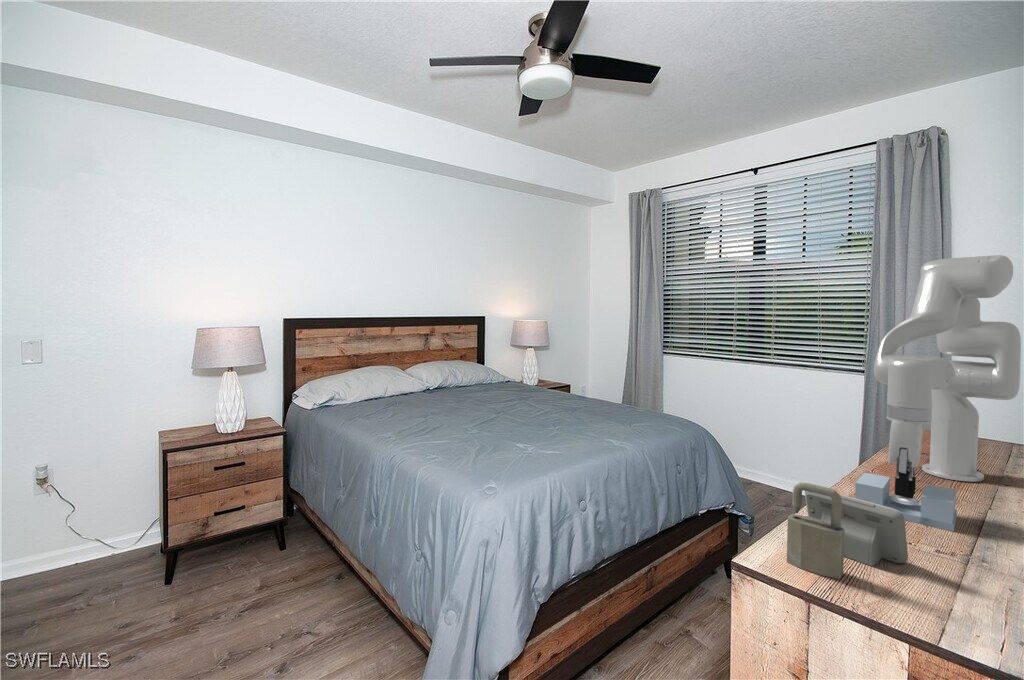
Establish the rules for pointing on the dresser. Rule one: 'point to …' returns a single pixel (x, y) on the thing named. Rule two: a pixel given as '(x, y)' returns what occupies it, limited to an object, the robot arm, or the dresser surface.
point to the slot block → (930, 511)
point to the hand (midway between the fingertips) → (904, 493)
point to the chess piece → (904, 499)
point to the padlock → (816, 536)
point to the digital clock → (864, 528)
